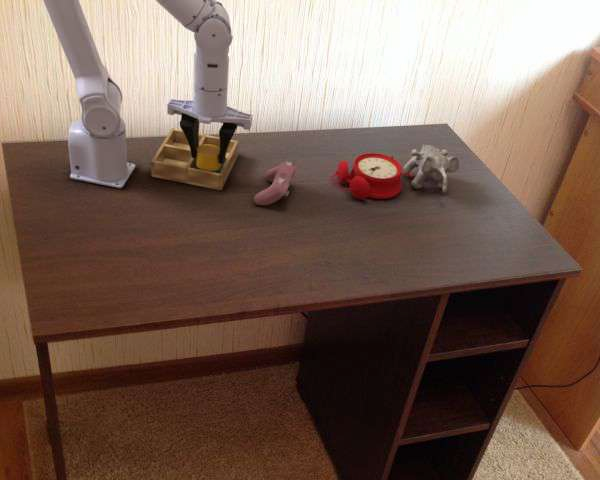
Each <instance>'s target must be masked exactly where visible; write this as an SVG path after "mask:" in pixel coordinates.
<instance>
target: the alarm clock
mask: <svg viewBox="0 0 600 480" xmlns="http://www.w3.org/2000/svg"><path fill="white" fill-rule="evenodd" d="M335 176H337V180H338V182H339V183H340V184H341V185H346V184H348V187H342V186H341V185H338V184H337V183H336V182H335V181H334V179H333V177H335ZM402 176H403V177H411V178H413V177H414V174H408V175H407V174H403V167H402V165H401V164H400V162H399V161H397V160H396V159H395V158H394V155H391V156H388V155H386V154H381V153H377V152H369V153H363V154H360V155H358V156H357V157H355V159H354V161H353V163H352V169H351V171H350V172H349V164H348V161H347V160H341V161H340V162H339V164H338V165H337V170H335V171H334V174H332V175H331V176H330V181H331V182H332V184H333V185H334V186H336V187H337V188H338V189H341V190H345V191H347V190H349V192H350V194H351V196H352V197H354V198H355V199H356V200H359V201H362V200H365V199H367V198H370V199H377V200H386V199H392V198H394V197H396V196H398V195H399V194H400V193H401V191H402V188H403V184H402V180H401V178H402Z"/></svg>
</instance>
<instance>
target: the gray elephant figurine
mask: <svg viewBox="0 0 600 480" xmlns="http://www.w3.org/2000/svg"><path fill="white" fill-rule="evenodd" d="M448 154H449V151H448V150H447V149H445V148H443V149H441V150H440V149H439V148H437V147H436V146H434V145H433V144H429V145H428V144H422V146H421V148H420V150H419V151H418V149H416V148H413V149H412V150H411V151H410V155H411V157H410V159H409V160H408V161H407V162H406V164H405V165H404V166H403V167H402V174H407V175H410V173H412V171H413V170H414V169H415V168H417V169H418V171H417V173H416V175H415V177H414V178H413V179H412V180H411V182H410V186H411V187H412V188H414V189H417V190H418V189H422V185H423V183H424V182H425V180H426V179H427V178H428V177H430V178H431V179H432V180H434V181H436V188H437V189H441V191H442V193H443V194H445V193H446V192H447V189H448V173H456V172H457V171H458V170H459V169H460V161H459V159H458V157H456V156H447V155H448Z"/></svg>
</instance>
